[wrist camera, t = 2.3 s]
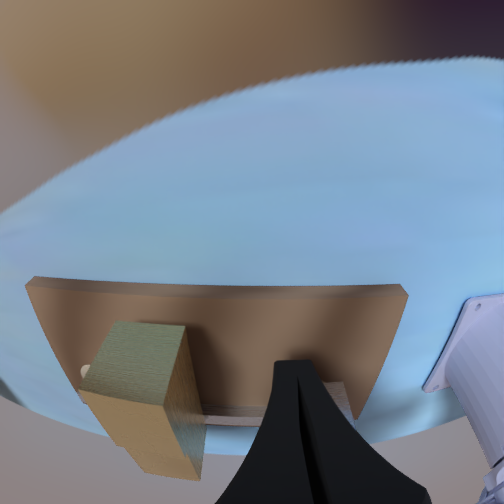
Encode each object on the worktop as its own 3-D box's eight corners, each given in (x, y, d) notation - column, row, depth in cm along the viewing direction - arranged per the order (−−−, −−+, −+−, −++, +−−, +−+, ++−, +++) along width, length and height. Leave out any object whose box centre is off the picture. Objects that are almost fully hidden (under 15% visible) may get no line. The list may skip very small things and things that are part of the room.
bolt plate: (399, 283, 12) (409, 296, 11) (354, 407, 16) (357, 420, 15) (34, 276, 12) (23, 286, 11) (88, 393, 17) (82, 404, 16)
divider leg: (189, 313, 11) (162, 406, 7) (208, 418, 15) (199, 485, 10) (122, 309, 11) (77, 389, 7) (159, 413, 15) (143, 476, 10)
